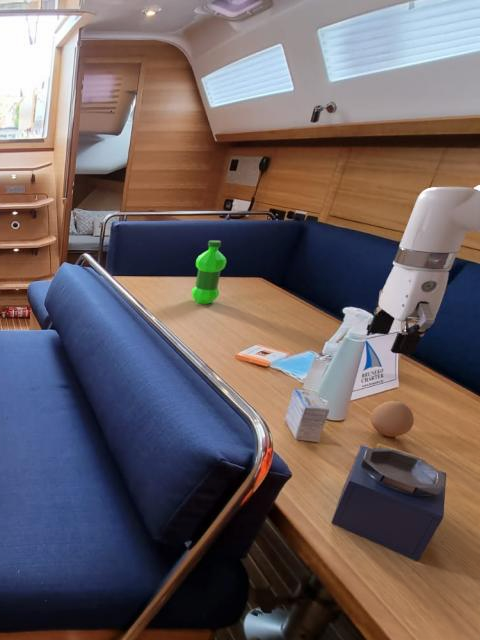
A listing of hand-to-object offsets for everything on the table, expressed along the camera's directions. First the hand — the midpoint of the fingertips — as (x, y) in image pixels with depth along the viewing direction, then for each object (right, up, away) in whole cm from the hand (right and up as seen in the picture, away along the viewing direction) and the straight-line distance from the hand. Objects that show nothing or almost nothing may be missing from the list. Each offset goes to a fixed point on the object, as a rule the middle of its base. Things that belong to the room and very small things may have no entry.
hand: (389, 342), depth 83 cm
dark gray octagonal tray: (-14, -22, -15) cm, 30 cm away
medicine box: (-9, -20, +11) cm, 25 cm away
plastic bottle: (+13, +16, +89) cm, 92 cm away
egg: (+8, -21, +9) cm, 24 cm away
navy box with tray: (-14, -31, -11) cm, 35 cm away
